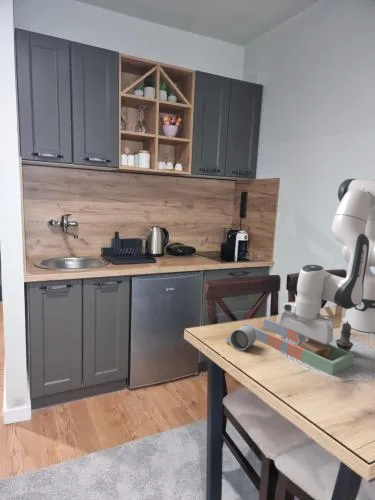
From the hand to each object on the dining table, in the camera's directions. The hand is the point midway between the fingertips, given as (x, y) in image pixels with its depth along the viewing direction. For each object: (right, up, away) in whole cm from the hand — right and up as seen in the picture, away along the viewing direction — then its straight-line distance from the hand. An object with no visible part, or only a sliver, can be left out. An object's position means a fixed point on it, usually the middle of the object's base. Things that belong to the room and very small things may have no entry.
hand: (302, 346), depth 126 cm
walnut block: (+2, -3, -5) cm, 6 cm away
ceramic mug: (-23, -1, +2) cm, 23 cm away
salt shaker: (+16, -3, +3) cm, 16 cm away
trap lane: (-2, -1, +3) cm, 4 cm away
